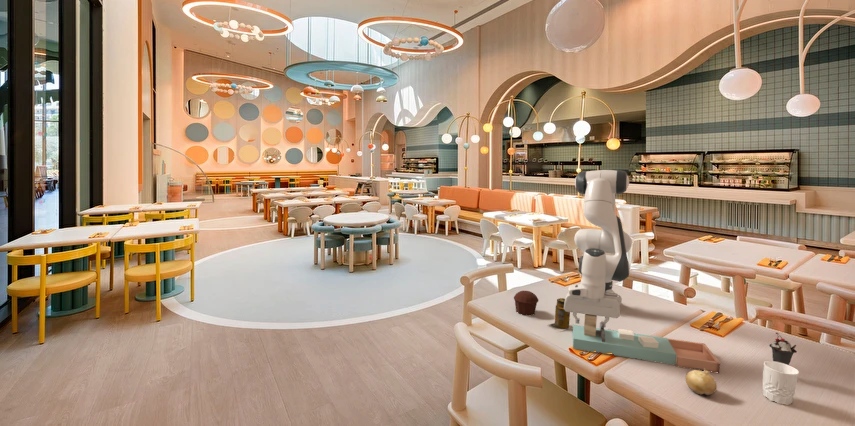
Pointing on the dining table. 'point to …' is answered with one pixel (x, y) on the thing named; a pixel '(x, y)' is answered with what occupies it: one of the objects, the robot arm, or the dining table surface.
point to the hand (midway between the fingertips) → (590, 324)
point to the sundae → (782, 350)
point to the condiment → (561, 317)
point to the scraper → (593, 327)
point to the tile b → (648, 341)
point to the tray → (694, 355)
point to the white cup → (779, 381)
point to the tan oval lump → (701, 382)
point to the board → (624, 346)
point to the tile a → (625, 334)
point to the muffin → (525, 302)
